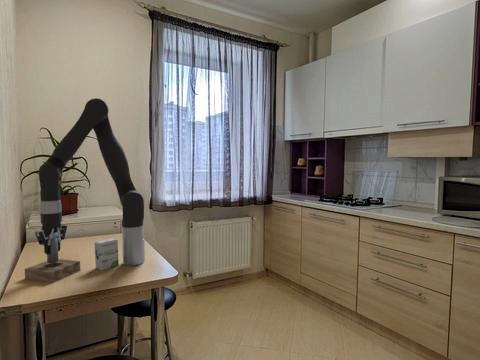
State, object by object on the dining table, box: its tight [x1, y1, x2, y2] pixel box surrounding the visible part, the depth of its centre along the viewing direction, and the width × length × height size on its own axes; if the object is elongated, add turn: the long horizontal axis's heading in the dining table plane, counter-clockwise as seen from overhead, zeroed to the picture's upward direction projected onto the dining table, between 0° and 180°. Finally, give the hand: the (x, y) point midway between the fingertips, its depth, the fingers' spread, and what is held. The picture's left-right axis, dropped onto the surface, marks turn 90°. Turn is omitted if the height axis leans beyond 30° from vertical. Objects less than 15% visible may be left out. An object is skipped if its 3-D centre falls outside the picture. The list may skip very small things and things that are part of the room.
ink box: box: [94, 238, 120, 271], centre depth 141 cm, size 9×5×12 cm, turn 141°
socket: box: [24, 258, 81, 283], centre depth 132 cm, size 14×14×4 cm
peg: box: [46, 232, 59, 263], centre depth 131 cm, size 4×4×12 cm
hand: (52, 252), depth 131 cm, fingers closed on peg, 4 cm apart
